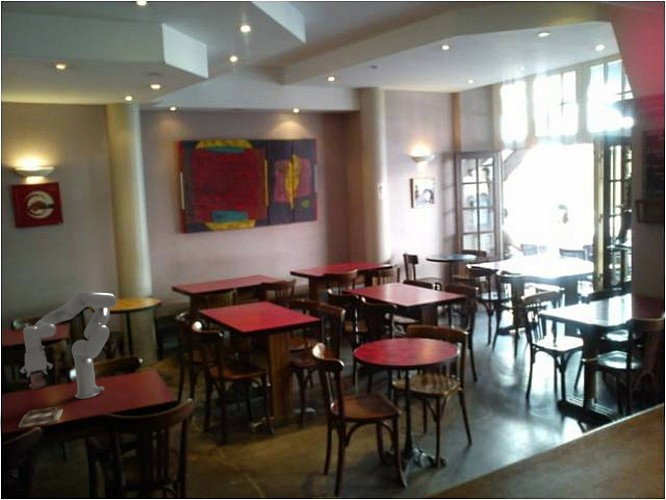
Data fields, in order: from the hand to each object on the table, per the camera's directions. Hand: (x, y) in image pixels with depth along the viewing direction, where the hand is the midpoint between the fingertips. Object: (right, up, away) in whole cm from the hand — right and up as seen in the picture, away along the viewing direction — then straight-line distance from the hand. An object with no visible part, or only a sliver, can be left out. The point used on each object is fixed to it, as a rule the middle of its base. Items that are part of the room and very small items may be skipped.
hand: (38, 381), depth 321 cm
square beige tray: (+8, -16, -14) cm, 22 cm away
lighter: (0, -2, 0) cm, 3 cm away
